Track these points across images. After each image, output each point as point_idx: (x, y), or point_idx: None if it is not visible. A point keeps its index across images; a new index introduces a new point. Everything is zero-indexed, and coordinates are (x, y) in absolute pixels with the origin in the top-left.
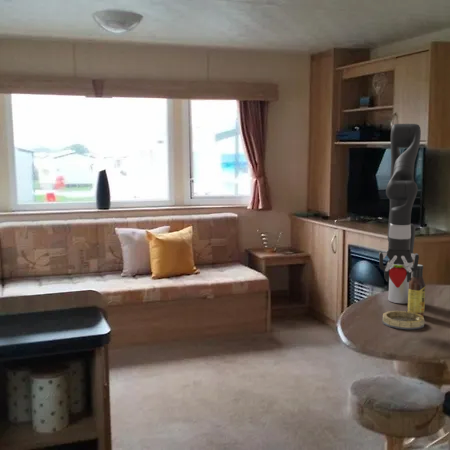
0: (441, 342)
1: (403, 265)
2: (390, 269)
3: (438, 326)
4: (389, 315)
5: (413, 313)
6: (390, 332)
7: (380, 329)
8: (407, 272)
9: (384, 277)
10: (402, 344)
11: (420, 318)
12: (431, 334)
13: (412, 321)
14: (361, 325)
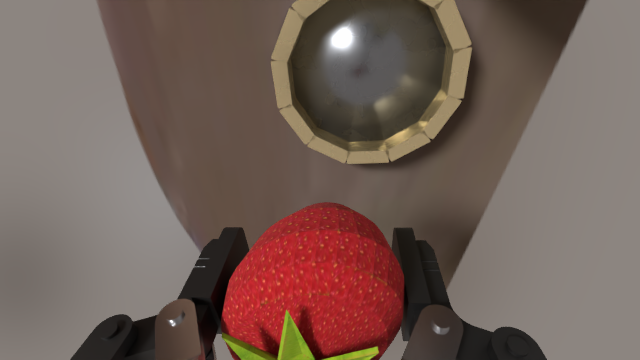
0: (460, 236)
1: (372, 351)
2: (230, 351)
3: (522, 71)
4: (304, 22)
5: (431, 6)
6: (313, 185)
7: (278, 163)
8: (403, 328)
9: (205, 252)
10: None
11: (448, 83)
12: (452, 176)
13: (397, 149)
14: (207, 136)
